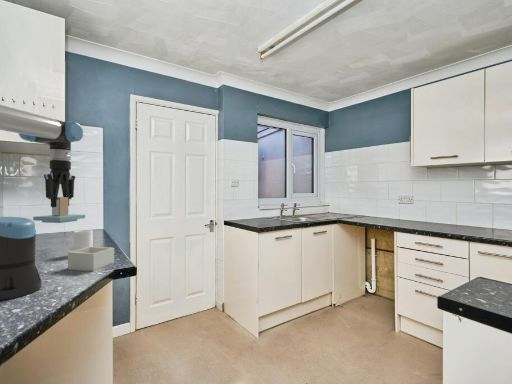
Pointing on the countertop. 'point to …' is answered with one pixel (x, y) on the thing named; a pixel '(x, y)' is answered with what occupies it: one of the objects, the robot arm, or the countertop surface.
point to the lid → (60, 214)
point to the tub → (90, 258)
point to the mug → (81, 239)
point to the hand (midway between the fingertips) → (60, 214)
